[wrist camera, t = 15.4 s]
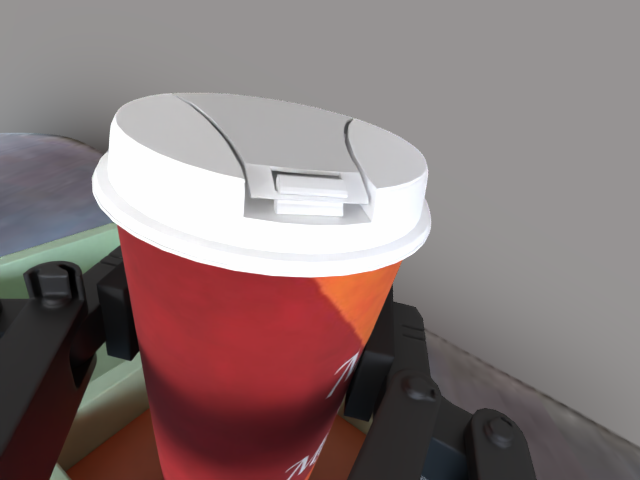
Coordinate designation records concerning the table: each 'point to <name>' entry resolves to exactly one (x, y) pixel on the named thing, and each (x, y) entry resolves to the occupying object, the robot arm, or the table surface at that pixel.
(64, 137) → the table surface
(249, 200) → the paper cup
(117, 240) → the holder
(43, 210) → the table surface
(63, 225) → the table surface
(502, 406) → the table surface
